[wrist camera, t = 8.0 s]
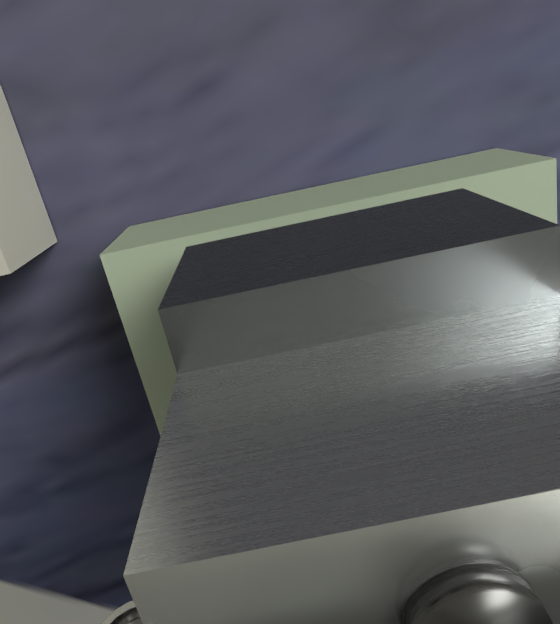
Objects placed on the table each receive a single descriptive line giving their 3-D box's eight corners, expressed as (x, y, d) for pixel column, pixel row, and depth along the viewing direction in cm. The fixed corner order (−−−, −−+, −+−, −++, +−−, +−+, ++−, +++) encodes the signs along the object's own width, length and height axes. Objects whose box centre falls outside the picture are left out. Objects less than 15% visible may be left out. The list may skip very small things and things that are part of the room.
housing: (186, 246, 10) (69, 505, 4) (462, 188, 10) (870, 343, 4) (285, 609, 14) (318, 1078, 7) (491, 568, 14) (721, 1007, 7)
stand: (218, 514, 18) (211, 588, 15) (129, 226, 14) (99, 254, 12) (512, 456, 18) (560, 521, 15) (496, 148, 14) (555, 158, 11)
